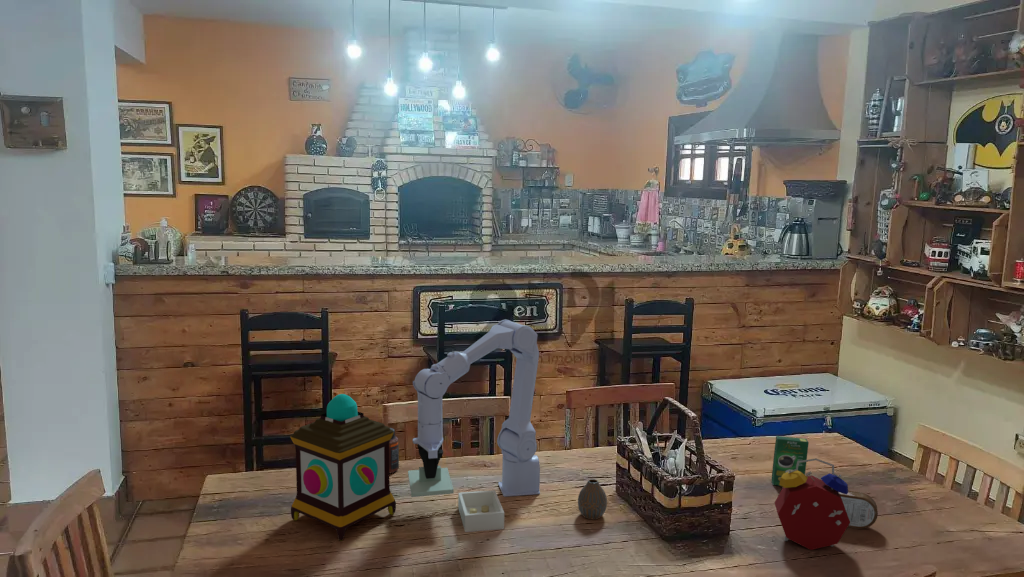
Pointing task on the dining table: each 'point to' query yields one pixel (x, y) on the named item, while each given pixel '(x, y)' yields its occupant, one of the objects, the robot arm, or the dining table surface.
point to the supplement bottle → (393, 454)
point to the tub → (480, 511)
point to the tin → (859, 509)
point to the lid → (430, 483)
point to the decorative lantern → (342, 467)
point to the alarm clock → (812, 508)
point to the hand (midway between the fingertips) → (430, 476)
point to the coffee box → (788, 456)
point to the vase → (592, 500)
